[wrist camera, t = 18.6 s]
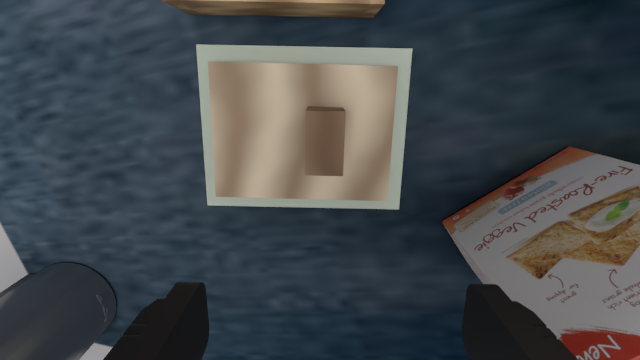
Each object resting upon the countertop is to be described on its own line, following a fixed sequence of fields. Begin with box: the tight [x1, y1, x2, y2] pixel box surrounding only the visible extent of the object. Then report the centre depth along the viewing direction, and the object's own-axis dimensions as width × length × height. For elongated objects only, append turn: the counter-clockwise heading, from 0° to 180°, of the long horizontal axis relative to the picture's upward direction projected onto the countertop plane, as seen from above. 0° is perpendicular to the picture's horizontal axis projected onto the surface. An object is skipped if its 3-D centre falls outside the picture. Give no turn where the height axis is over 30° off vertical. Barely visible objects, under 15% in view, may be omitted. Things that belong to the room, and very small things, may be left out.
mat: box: [196, 44, 412, 209], centre depth 34 cm, size 19×15×1 cm
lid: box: [208, 61, 398, 201], centre depth 30 cm, size 16×12×6 cm
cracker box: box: [442, 147, 640, 360], centre depth 26 cm, size 14×6×21 cm, turn 124°
